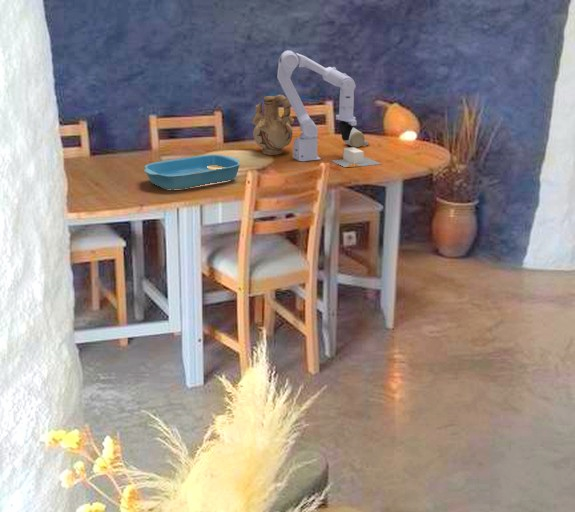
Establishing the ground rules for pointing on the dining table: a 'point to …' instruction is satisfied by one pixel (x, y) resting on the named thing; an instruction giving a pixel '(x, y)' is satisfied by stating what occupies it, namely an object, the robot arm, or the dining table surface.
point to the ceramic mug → (356, 139)
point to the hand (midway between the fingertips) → (345, 140)
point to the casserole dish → (191, 171)
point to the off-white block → (353, 155)
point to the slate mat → (365, 163)
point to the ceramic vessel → (273, 125)
